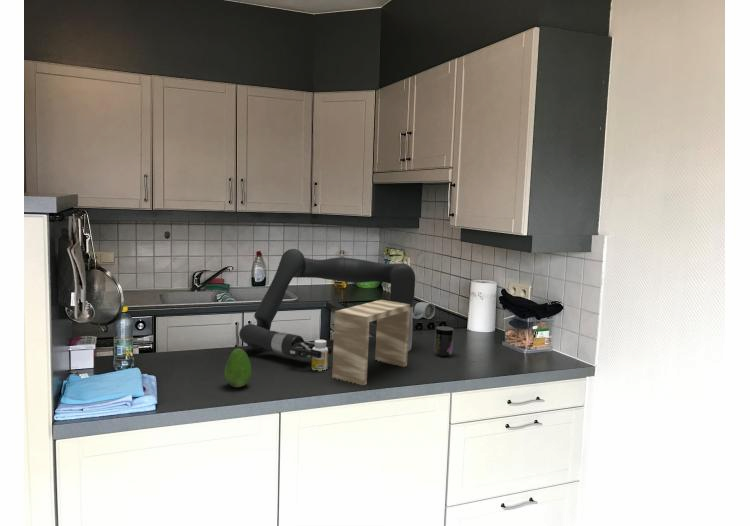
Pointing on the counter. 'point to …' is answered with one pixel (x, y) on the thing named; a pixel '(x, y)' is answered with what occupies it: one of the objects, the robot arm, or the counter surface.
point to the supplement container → (444, 341)
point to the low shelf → (355, 338)
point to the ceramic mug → (424, 310)
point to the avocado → (238, 368)
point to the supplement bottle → (323, 361)
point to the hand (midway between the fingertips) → (326, 353)
